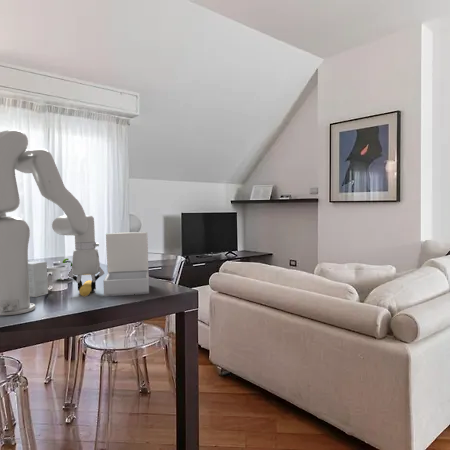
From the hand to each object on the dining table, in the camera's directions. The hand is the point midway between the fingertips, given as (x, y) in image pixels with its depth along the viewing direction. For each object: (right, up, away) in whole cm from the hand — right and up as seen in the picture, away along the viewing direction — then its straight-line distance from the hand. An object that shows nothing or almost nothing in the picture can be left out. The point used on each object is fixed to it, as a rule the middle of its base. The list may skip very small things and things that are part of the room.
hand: (87, 291), depth 156 cm
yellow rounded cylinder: (0, -1, 0) cm, 1 cm away
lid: (+14, +15, +10) cm, 22 cm away
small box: (-20, -1, -2) cm, 20 cm away
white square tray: (+16, 0, +3) cm, 16 cm away
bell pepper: (-21, 0, +29) cm, 36 cm away
